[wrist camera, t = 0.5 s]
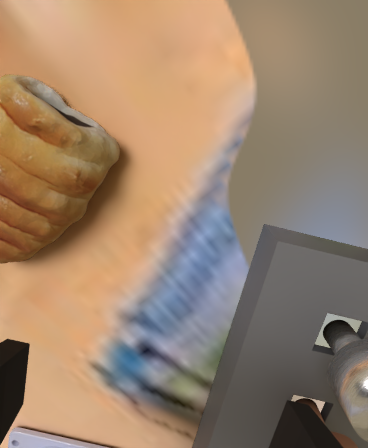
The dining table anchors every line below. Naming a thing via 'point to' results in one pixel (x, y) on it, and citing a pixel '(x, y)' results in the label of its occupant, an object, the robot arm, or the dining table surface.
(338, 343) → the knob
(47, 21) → the dining table surface
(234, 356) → the knob panel
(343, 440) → the middle knob
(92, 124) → the pastry
